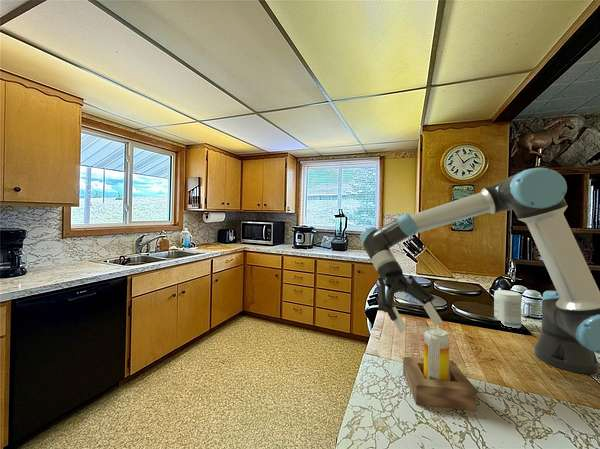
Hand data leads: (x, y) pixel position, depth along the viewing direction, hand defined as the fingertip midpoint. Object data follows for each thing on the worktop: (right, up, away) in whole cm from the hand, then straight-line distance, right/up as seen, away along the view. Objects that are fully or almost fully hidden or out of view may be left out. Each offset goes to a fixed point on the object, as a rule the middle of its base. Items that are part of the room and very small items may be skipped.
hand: (421, 327), depth 77 cm
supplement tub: (+57, -16, +43) cm, 73 cm away
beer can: (+2, -15, -4) cm, 15 cm away
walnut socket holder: (+2, -16, -4) cm, 16 cm away
